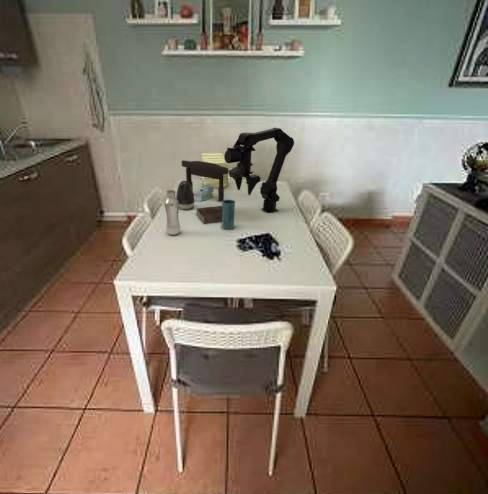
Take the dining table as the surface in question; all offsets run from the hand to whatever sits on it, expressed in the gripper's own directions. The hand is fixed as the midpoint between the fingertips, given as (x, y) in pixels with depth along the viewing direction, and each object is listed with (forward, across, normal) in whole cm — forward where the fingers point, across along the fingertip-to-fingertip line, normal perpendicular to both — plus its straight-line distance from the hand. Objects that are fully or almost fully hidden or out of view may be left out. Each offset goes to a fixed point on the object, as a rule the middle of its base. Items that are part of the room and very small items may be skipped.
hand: (243, 192), depth 164 cm
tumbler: (+13, +8, -14) cm, 21 cm away
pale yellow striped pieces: (+13, -58, +18) cm, 62 cm away
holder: (+13, -7, -14) cm, 20 cm away
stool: (+13, -36, -3) cm, 39 cm away
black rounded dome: (+13, -27, -20) cm, 36 cm away
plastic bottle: (+13, +1, -40) cm, 42 cm away
